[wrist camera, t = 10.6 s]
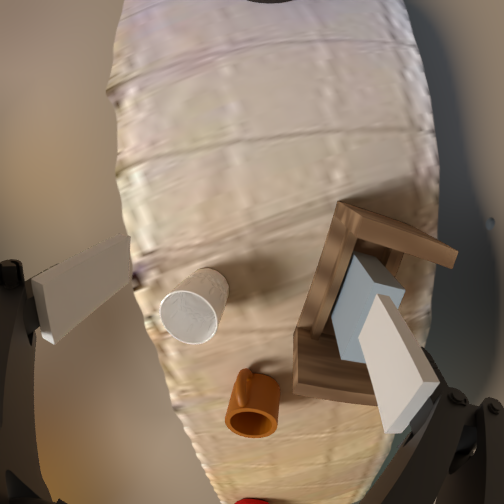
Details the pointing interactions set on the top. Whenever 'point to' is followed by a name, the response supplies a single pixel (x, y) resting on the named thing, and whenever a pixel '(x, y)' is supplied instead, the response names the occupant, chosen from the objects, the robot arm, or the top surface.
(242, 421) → the mug
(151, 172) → the top surface
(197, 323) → the white cup
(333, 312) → the gray rectangular block
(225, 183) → the top surface
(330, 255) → the wooden frame
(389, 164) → the top surface
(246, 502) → the tomato
